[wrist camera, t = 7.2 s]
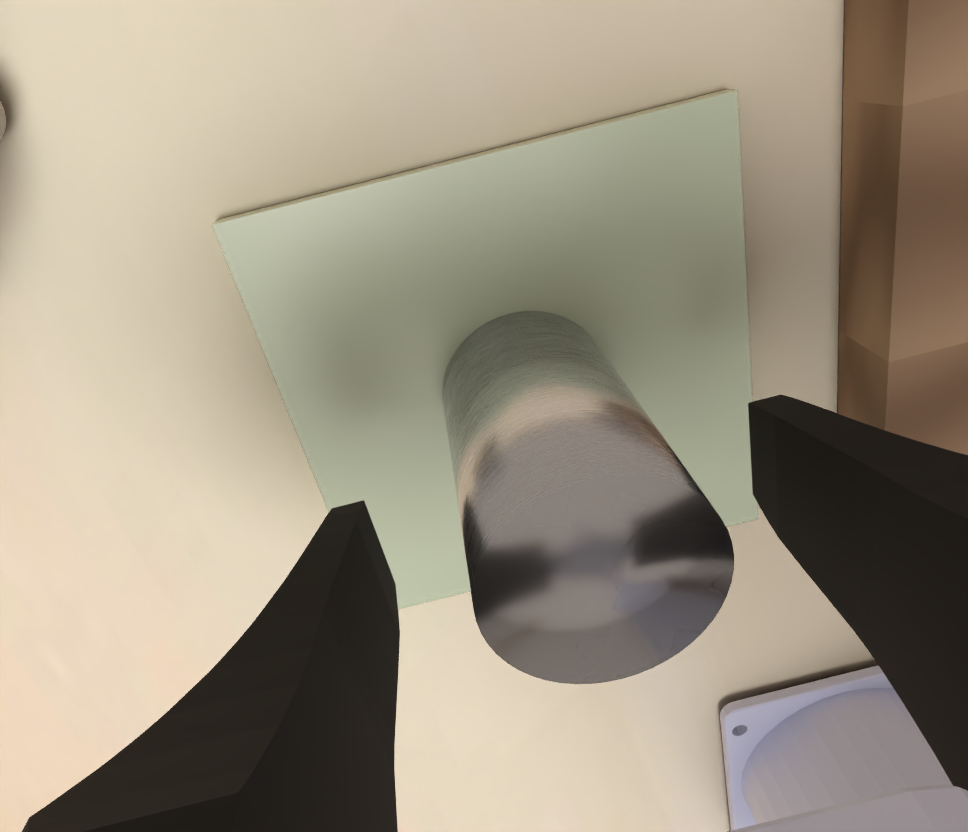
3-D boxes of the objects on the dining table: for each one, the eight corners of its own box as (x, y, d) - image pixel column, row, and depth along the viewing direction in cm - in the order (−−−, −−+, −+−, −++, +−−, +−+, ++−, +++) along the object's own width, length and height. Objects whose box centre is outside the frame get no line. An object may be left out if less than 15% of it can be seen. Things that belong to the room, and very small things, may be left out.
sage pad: (749, 508, 20) (758, 519, 19) (371, 603, 20) (371, 616, 19) (727, 88, 15) (737, 90, 14) (217, 219, 15) (211, 225, 14)
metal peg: (618, 440, 18) (739, 648, 11) (464, 479, 18) (504, 708, 11) (595, 291, 16) (726, 444, 10) (423, 335, 16) (443, 516, 10)
